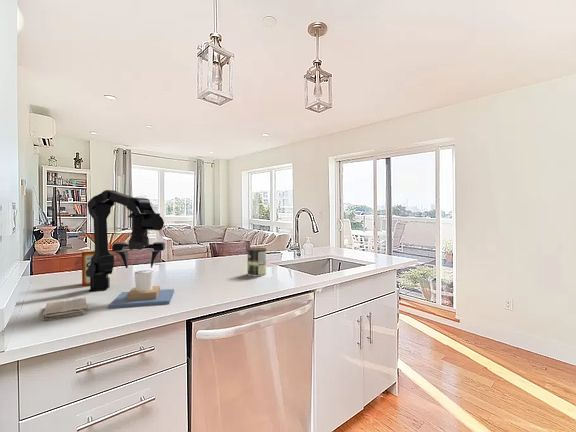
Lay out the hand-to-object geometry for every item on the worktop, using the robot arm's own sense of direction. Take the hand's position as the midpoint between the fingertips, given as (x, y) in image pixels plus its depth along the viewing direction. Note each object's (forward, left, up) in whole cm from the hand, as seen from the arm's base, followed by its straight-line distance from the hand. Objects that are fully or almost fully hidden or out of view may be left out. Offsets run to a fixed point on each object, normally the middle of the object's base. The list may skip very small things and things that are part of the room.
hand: (139, 267), depth 125 cm
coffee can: (+53, +30, -12) cm, 62 cm away
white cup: (+3, -6, -8) cm, 10 cm away
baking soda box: (-25, +29, -12) cm, 40 cm away
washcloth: (-21, -14, -12) cm, 28 cm away
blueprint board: (+3, -6, -11) cm, 13 cm away
